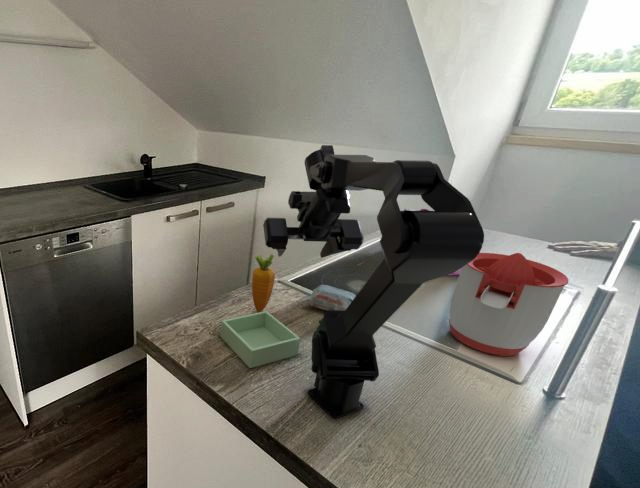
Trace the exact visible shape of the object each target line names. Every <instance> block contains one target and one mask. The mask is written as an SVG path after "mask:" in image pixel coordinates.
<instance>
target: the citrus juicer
mask: <svg viewBox="0 0 640 488" xmlns="http://www.w3.org/2000/svg"><path fill="white" fill-rule="evenodd" d="M568 284H569V278H568V277H567V275H565V273H563V272H561V271H560V270H558V269H556V268H554V267H552V266H549V265H546V264H543V263H541V262H538V261H534V260H531V259H527V258H526V257H525V256H524V255H523V253H520V252H515V253H512V254H509V255H508V254H502V253H495V252H480V253H479V254H478V255H477V257H476V258H475V259H474V260H473V261H471V262H470V263H468V264H467V265H465V266H464V267H462V270H461V272H460V275H458V278H457V281H456V284H455V287H454V290H453V293H452V296H451V299H450V304H449V319H448V323H449V328H450V333H451V334H452V336H453V337H454V338H455V339H456V340H457V341H459V342H461V343H462V344H464V345H466V346H467V347H469V348H472V349H475V350H477V351H480V352H482V353H486V354H491V355H495V356H499V357H507V356H509V357H510V356H515V355H518V354H519V353H521V352H522V351H524V350H525V349H526V348H527V347H529V345H530V344H531V343H532V342H533V341H534V340H535V339H536V338H537V337H538V336H539V334H540V333H541V332H542V331H543V330H544V328H545V326H546V325H547V323H548V322H549V319H550V317H551V315H552V313H553V311H554V308H555V307H556V304H557V302H558V300H559V298H560V296H561V294H562V292H563V290H564V287H565V286H566V285H568Z"/></svg>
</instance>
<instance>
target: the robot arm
mask: <svg viewBox="0 0 640 488" xmlns="http://www.w3.org/2000/svg"><path fill="white" fill-rule="evenodd" d="M304 166H305V172H306V177H307V180H308V181H307V182H308V186H309V189H310V190H313V191H300V190H292V191H291V192H290V194H289V195H288V196H289V197H288V201H287V203H288V206H289V208H290V209H291V210H293V209H294V210H297V211H298V214H297V216H296V219H297V222H298V223H299V226H287V225H288V224H287V219H286V218H285V217H266V218H265V220H264V221H263V223H262V224H263V225H262V227H263V234H264V244H265V246H266V247H267V248H271V249H272V250H276V251H277V256H278V258H279V257H282V256H283V255H284V253H285V252H286V250H287V245H288V243H289V240H303V242H323V243H324V242H325V244H324V245H323V247H321V251H320V253H319V255H320V258H326V257H330V256H333V255H336V254H339V253H344V252H350V251H352V250H359V249H360V248H361V246H363V244H364V241H365V239H364V234H363V231H362V227H361V224H360V221H359V220H358V219H354V218H340V216H341V215H342V214H346V215H347V214H350V213H351V205H350V200H351V194H350V191H358V192H359V191H367V190H373V191H379V192H382V193H383V196H384V200H383V202H382V204H381V206H380V209H379V211H378V214H377V216H376V221H377V224H378V227H379V231H380V235H381V238H380V240H379V244H380V247H381V252H382V254H383V255H382V256H383V259H382V261H381V262H380V263H379V265H378V266H377V267H376V269H374V272H372V274H371V275H370V277H368V279H367V281H366V282H365V283H364V285H362V287H361V289H360V290H359V292H357V294H355V295H356V297H355V298H354V299H353V301H352V302H351V303H350V305H349V306H348V307H347V309H346V310H328V311H326V312H324V314H323V317H322V318H321V319H319V320H318V325H317V327H316V329H315V330H314V332H313V334H312V336H311V337H312V338H311V357H310V360H311V368H310V369H311V372H312V373H314V374H316V375H315V379H314V384H313V386H314V387H313V388H310V389H308V390H307V395H308V396H309V397H310V398H312V400H313V401H315V402H316V403H317V404H318V405H319V406H320V407H321V408H322V409H323V410H324V411H325V412H326V413H327V414H329V416H330V417H332V419H339V418H343V417H345V416H348V415H351V414H353V413H356V412H359V411H361V410H364V407H365V404H363V402H361V401H360V399H361V395H362V392H363V388H364V384H365V381H367V382H375V381H376V380H377V379H378V377H379V376H380V370H379V366H378V365H379V364H378V359H377V352H376V348H377V343H376V341H375V337H374V335H375V334H376V333H377V332H378V331H379V329H381V328H382V326H383V325H385V323H386V322H387V321H388V320H389V319H390V318H391V317H392V316H393V315H394V314H395V313H396V311H398V310H399V309H400V308H401V307H402V306H403V304H405V303H406V302H407V300H408V299H409V298H410V297H412V296H413V295H414V293H416V291H418V289H419V288H420V287H421V286H422V285H423V284H425V283H427V282H430V281H433V280H436V279H439V278H440V279H441V278H442V277H446V276H450V275H449V274H452V273H454V272H456V271H457V270H459V269H460V268H462V267H464V266H465V265H467V264H468V263H470V262H471V261H473V260H474V259H475V258H476V257H477V255H478V254H479V253H481V252H482V251H481V250H482V248H483V245H484V242H485V232H484V228H483V227H482V226H483V225H482V224H481V222H480V220H479V217H478V216H477V213H476V211H475V208H474V207H473V204H472V202H471V200H470V199H469V198H468V197H467V196H465V194H463V193H462V191H461V192H460V190H458V189H457V188H456V187H455V186H454V185H452V183H450V182H449V181H447V180H446V179H445V177H444V174H443V172H442V170H441V167H440V166H439V164H438V163H435V162H432V161H430V160H420V159H419V160H418V159H417V160H415V159H414V160H411V159H409V160H408V159H397V160H394V161H376V158H374V157H372V156H369V155H366V154H336V152H335V149H334V145H330V144H329V145H328V144H321V146H320V149H317V150H314V151H313V152H311V153H309V154H308V155H307V156H306V157H305V159H304ZM399 196H420V197H421V200H422V201H423V202H424V203H425V204H426V205H428V207H430V208H431V209H432V210H430V211H420V210H416V211H410V210H411V209H410V210H407V209H406V210H405V209H403V210H401V209H400V205H399V202H398V200H397V199H398V197H399Z"/></svg>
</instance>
